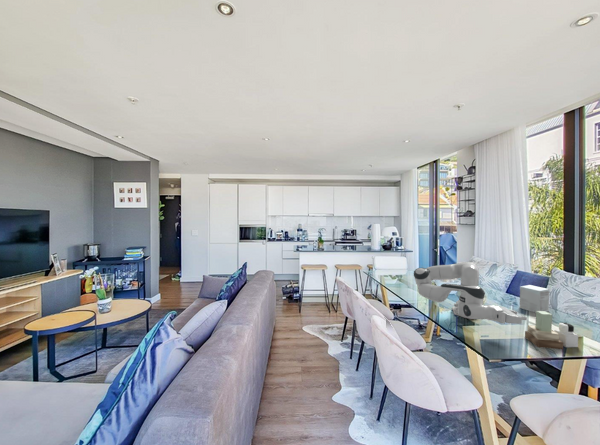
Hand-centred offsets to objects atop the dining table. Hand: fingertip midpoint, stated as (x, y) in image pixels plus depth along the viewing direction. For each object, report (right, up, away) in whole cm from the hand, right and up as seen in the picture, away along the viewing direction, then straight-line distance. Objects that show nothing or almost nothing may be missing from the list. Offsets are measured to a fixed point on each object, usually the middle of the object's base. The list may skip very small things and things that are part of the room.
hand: (521, 315), depth 157 cm
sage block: (+12, -8, -2) cm, 14 cm away
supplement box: (+53, -13, +51) cm, 74 cm away
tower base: (+11, -16, -2) cm, 20 cm away
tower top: (+11, -12, -2) cm, 16 cm away
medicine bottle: (+23, -16, -3) cm, 28 cm away
